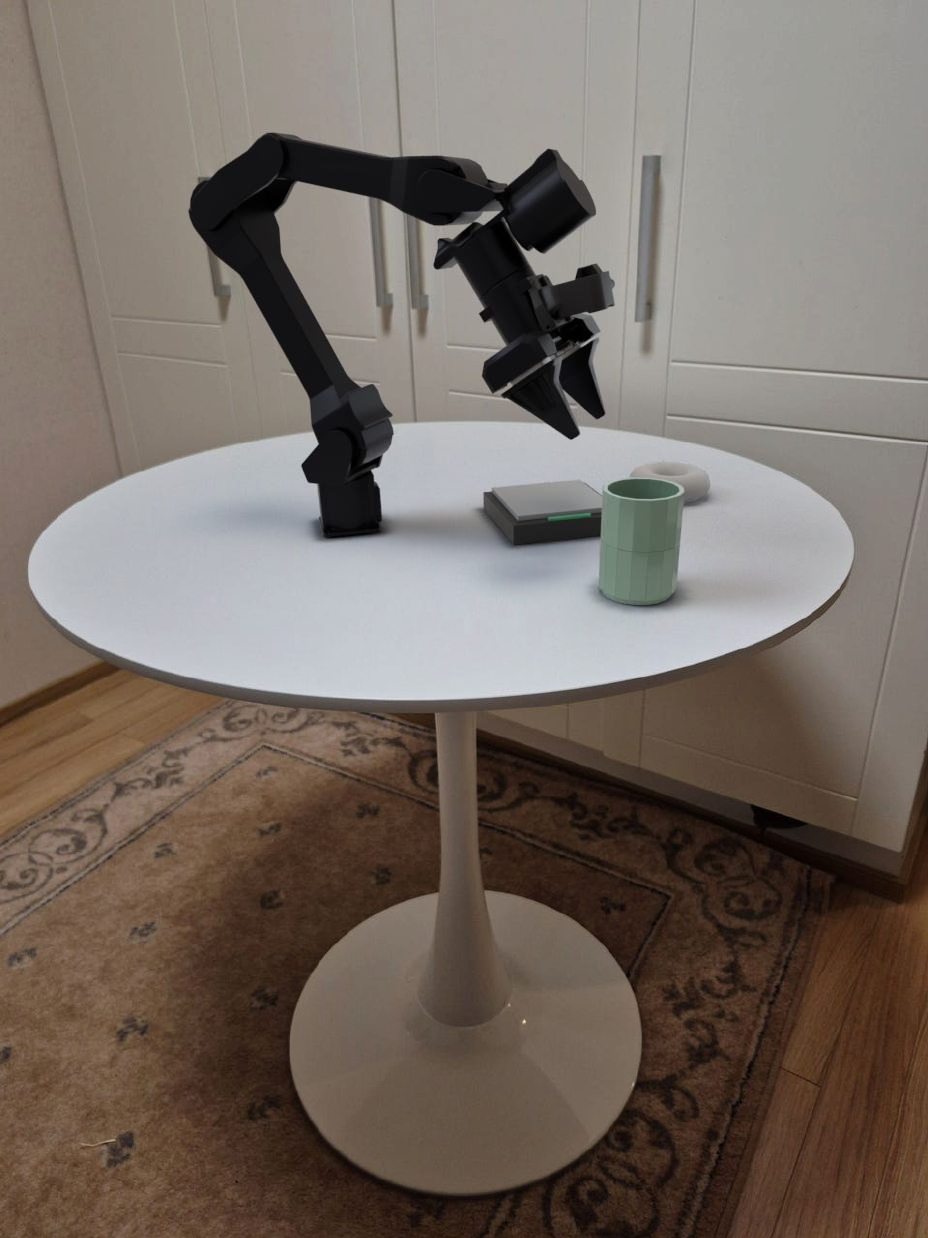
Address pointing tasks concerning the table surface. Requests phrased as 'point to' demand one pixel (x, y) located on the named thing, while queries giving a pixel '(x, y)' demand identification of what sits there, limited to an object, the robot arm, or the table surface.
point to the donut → (677, 477)
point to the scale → (545, 511)
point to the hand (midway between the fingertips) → (589, 426)
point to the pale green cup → (640, 539)
